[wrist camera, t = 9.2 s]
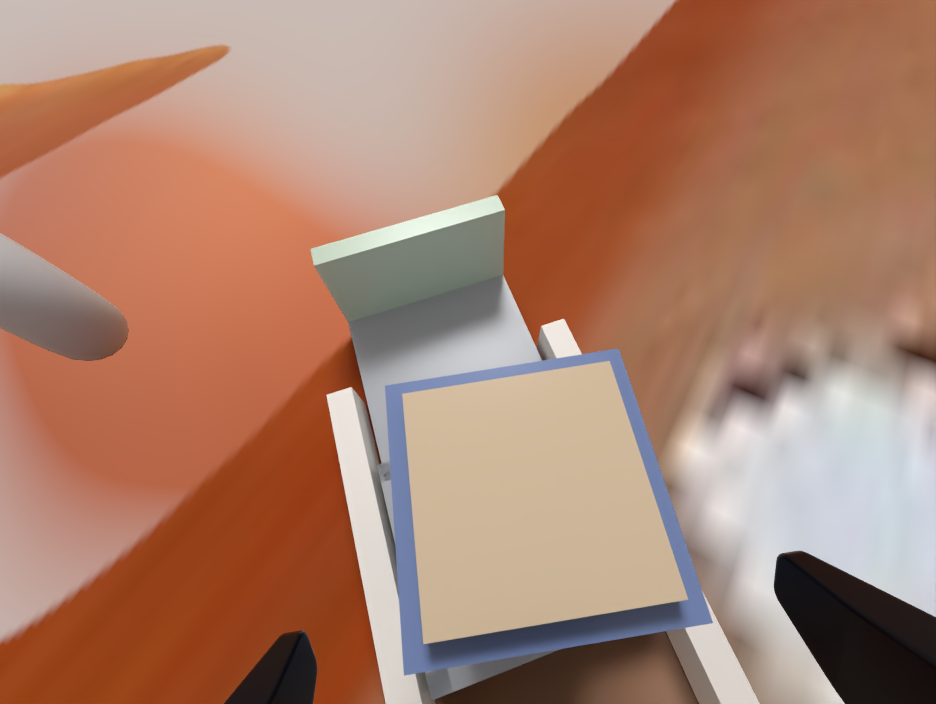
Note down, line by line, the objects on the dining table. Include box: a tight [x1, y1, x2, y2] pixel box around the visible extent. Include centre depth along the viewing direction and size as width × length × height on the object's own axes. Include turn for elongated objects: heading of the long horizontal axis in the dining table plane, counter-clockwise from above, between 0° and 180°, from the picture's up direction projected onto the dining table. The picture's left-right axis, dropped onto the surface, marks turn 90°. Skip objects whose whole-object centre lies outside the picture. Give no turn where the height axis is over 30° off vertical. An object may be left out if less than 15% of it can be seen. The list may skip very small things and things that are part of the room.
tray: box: [311, 195, 560, 701], centre depth 19 cm, size 18×9×6 cm, turn 18°
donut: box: [0, 233, 129, 361], centre depth 21 cm, size 10×4×10 cm, turn 63°
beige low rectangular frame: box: [327, 319, 760, 704], centre depth 18 cm, size 19×12×2 cm, turn 18°
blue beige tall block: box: [385, 349, 713, 676], centre depth 13 cm, size 5×5×12 cm
